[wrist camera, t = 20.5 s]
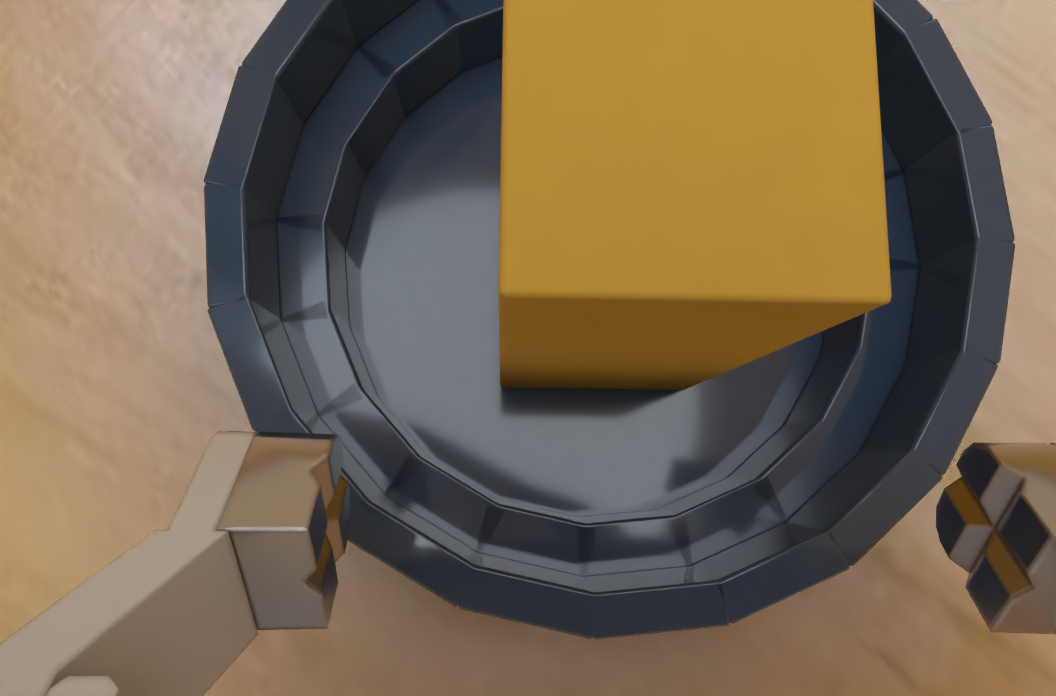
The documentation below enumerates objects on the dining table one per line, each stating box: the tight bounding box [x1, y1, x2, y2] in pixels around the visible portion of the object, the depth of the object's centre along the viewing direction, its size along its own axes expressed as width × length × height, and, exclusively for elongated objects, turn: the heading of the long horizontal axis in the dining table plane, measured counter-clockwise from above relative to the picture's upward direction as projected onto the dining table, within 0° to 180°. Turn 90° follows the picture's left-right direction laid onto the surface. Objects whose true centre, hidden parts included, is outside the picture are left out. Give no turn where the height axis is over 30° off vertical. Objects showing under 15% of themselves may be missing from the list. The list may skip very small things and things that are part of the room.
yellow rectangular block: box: [498, 0, 892, 390], centre depth 14 cm, size 4×6×10 cm
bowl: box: [204, 0, 1015, 639], centre depth 17 cm, size 16×16×5 cm
